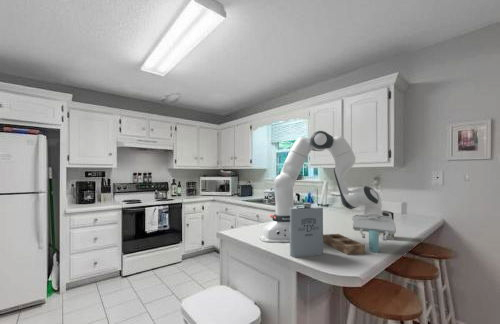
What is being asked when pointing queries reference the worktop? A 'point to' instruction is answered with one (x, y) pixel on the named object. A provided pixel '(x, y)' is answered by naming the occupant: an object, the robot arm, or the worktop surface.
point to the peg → (373, 241)
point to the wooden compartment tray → (344, 244)
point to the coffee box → (390, 236)
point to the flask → (306, 231)
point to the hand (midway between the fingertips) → (373, 238)
